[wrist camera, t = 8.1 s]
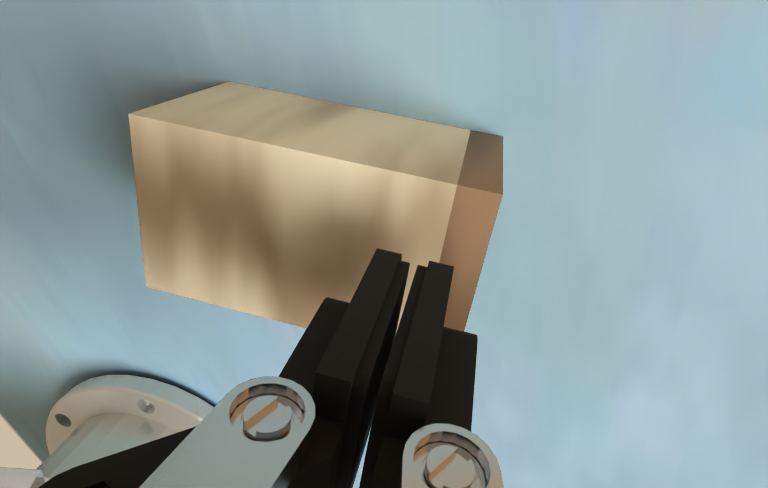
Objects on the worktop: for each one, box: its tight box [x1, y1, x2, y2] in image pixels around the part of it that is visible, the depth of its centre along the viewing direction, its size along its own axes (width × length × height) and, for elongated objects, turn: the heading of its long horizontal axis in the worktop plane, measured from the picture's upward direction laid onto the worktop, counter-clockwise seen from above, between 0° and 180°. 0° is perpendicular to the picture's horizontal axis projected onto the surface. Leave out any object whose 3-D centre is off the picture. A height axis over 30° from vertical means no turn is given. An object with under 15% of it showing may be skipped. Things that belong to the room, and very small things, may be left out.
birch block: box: [128, 82, 503, 332], centre depth 15 cm, size 5×5×9 cm
